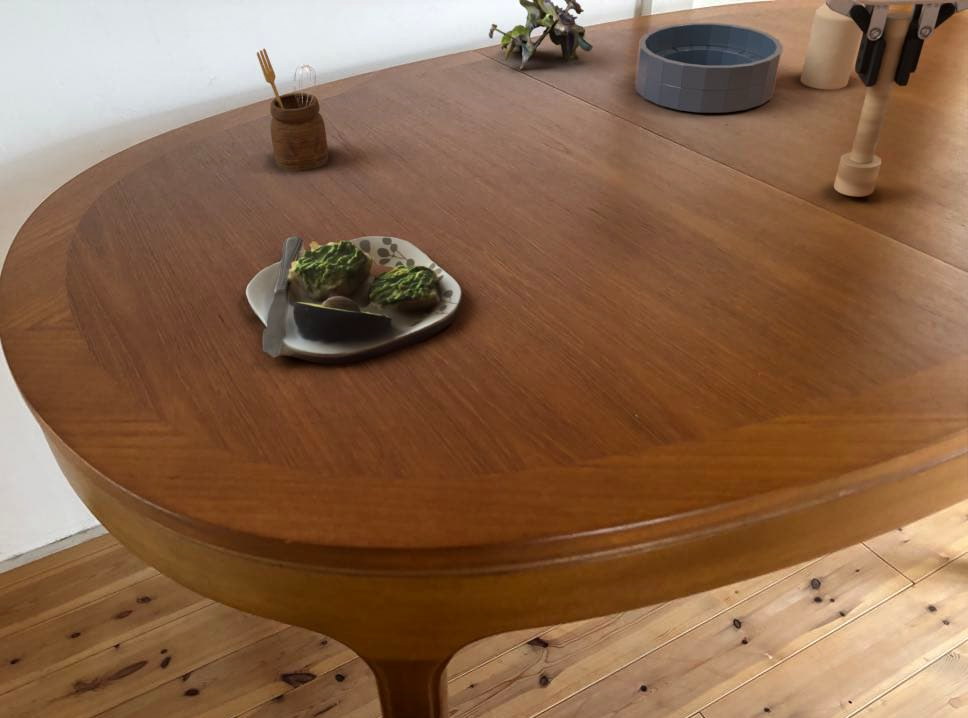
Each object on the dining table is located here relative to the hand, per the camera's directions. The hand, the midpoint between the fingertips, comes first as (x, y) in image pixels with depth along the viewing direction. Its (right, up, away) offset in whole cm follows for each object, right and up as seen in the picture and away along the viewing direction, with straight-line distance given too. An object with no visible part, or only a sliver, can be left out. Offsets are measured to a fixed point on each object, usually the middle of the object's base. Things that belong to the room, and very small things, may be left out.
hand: (882, 79), depth 79 cm
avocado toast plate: (-47, -21, -4) cm, 52 cm away
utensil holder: (-55, -2, +19) cm, 58 cm away
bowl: (-7, +9, +30) cm, 32 cm away
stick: (+1, -8, +7) cm, 11 cm away
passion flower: (-26, +16, +40) cm, 50 cm away
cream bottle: (+8, +11, +31) cm, 34 cm away
